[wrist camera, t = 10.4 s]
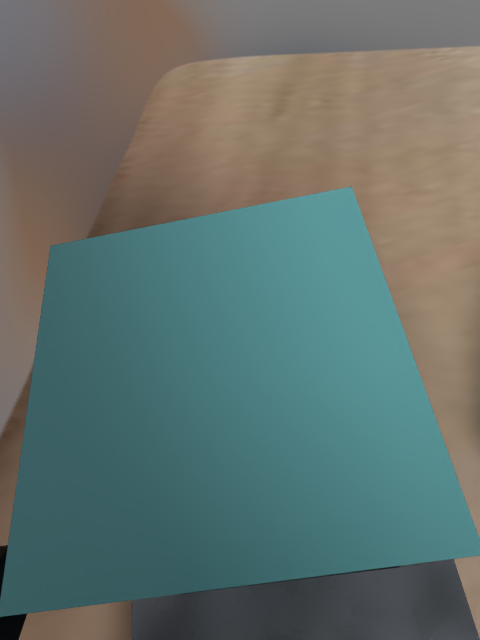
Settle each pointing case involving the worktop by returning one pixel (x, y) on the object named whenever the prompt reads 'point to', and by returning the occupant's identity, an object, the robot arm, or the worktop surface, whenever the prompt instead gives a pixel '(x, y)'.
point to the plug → (225, 415)
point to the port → (318, 608)
